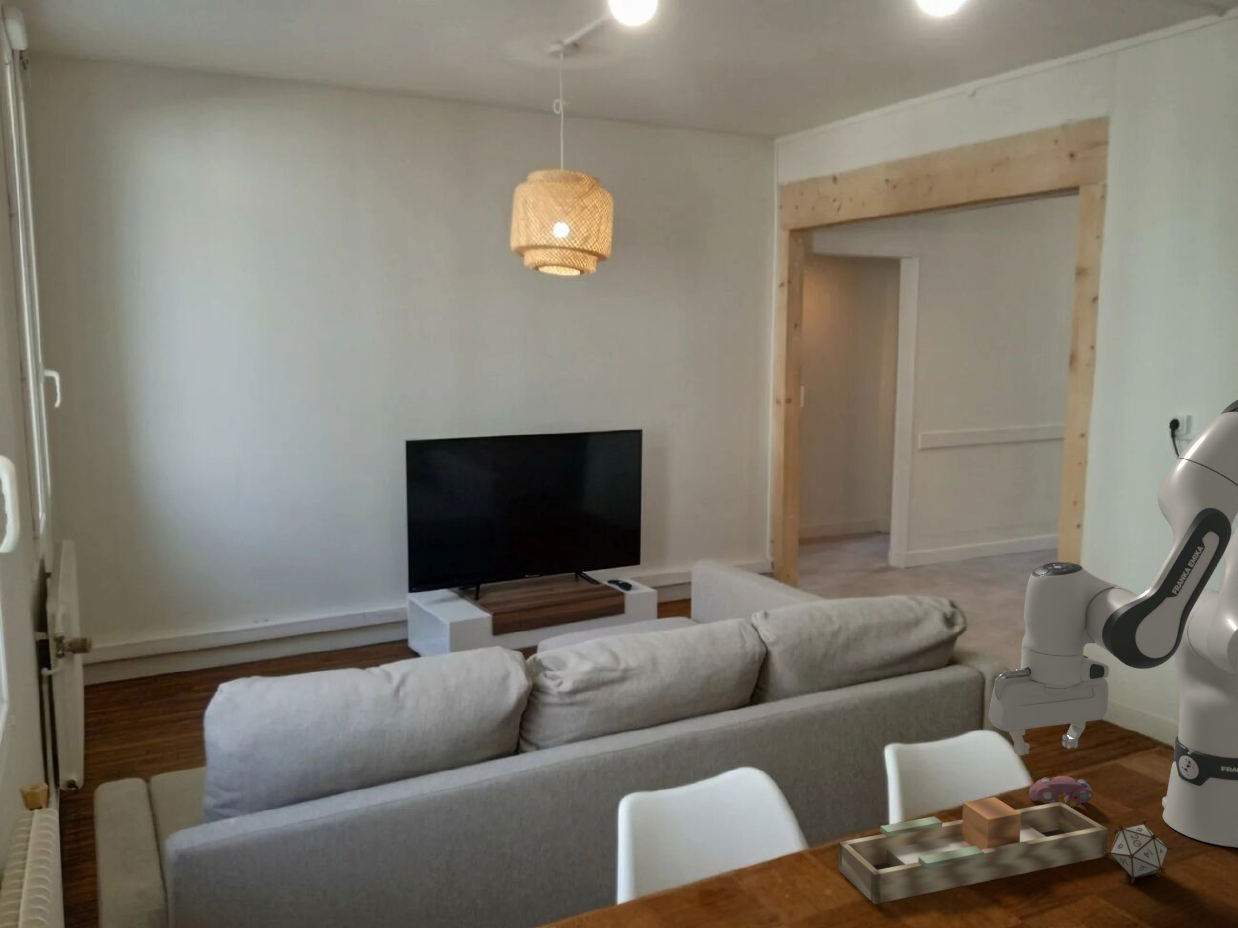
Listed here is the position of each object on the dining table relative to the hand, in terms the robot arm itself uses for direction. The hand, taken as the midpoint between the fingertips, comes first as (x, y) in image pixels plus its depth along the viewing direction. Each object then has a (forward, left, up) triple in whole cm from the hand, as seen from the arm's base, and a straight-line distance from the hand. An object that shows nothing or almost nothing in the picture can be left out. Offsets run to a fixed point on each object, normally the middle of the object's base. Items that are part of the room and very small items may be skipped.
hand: (1045, 750), depth 153 cm
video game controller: (-14, -11, -17) cm, 25 cm away
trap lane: (+13, 0, -16) cm, 21 cm away
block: (+10, 0, -14) cm, 17 cm away
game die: (-8, +11, -17) cm, 22 cm away
